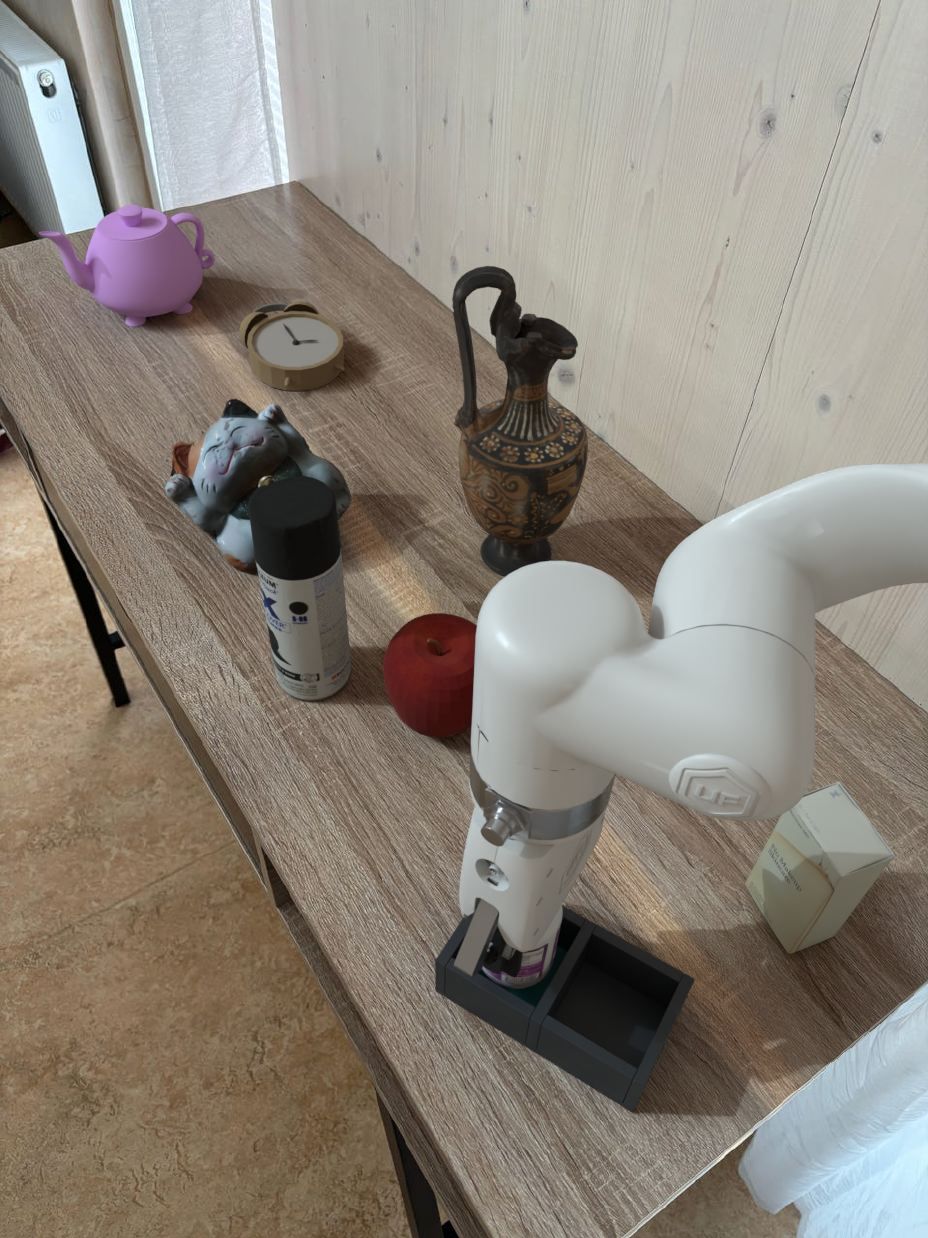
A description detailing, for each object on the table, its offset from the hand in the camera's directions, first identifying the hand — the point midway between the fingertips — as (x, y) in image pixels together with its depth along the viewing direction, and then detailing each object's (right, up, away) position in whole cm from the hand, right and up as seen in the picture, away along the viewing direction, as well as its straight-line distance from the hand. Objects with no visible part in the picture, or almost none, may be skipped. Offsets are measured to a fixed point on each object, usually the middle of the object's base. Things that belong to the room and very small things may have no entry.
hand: (520, 922), depth 66 cm
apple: (-6, +11, +21) cm, 25 cm away
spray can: (-17, +15, +24) cm, 33 cm away
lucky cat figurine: (-23, +28, +36) cm, 52 cm away
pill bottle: (0, -3, +4) cm, 5 cm away
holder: (+3, -7, +5) cm, 9 cm away
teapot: (-45, +60, +64) cm, 98 cm away
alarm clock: (-24, +51, +57) cm, 80 cm away
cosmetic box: (+21, -2, +10) cm, 23 cm away
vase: (+1, +26, +35) cm, 44 cm away
